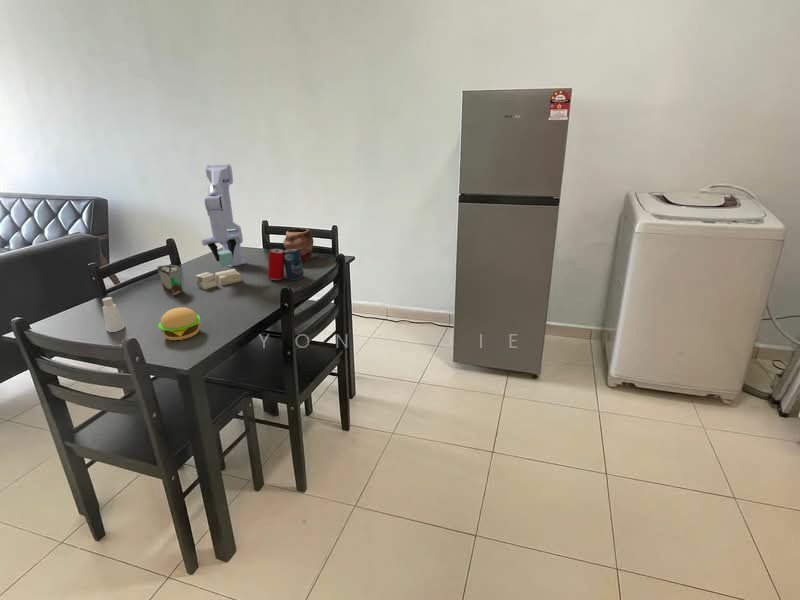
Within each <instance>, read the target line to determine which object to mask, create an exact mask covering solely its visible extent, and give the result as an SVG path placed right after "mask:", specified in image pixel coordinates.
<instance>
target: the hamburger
mask: <svg viewBox="0 0 800 600" xmlns="http://www.w3.org/2000/svg"><path fill="white" fill-rule="evenodd" d="M201 324H202V323H201V317H200V315H199V314H197V313H196V312H195V311H194V310H192V309H191V308H190V307H189V308H188V307H184V306H183V307H176V308H175V307H174V308H172V309H169V310H167V311H166V312H165V313H164V314H162V317H161V318H160V322H159V323H158V328H159V329H160V332H161V333H163V336H164V337H165V338H166V339H167V340H169V341H171V340H174V342H176V341H175V340H181V341H184V340H183V339H186V340H188V339H187V338H189V339H191V338H193V337H195V336H196V335H197V334H198V333H199V331H200V326H201ZM194 335H195V336H194ZM192 336H193V337H192ZM190 337H191V338H190Z"/></svg>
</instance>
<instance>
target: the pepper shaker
mask: <svg viewBox="0 0 800 600" xmlns="http://www.w3.org/2000/svg"><path fill="white" fill-rule="evenodd" d="M101 301H102V304H103V306H102V314H103V319H104V325H105V331H106V332H107V331H109V332H113V331H118V330H121V329H123V328H124V327H125V328H126V325H125V322H124V319H123V318H122V315H121V313H120V311H119V309H118V306H117V303H114V301H113V297H111V296H109V297H108V296H107V297H104V298H102V300H101ZM109 332H108V333H109Z"/></svg>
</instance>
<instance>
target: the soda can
mask: <svg viewBox="0 0 800 600" xmlns="http://www.w3.org/2000/svg"><path fill="white" fill-rule="evenodd" d="M283 252H284V270H285V274H286V277H287V278H288V279H289V280H291V281H295V280H300V279H302V278H303V276H304V269H303V262H301V257H300V252H299V251H298V249H297V248H289V249H286V248H285V249H284V250H283Z"/></svg>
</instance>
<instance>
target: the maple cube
mask: <svg viewBox="0 0 800 600" xmlns="http://www.w3.org/2000/svg"><path fill="white" fill-rule="evenodd" d="M195 279H196V283H197V288H199V289H202V290H208V289H210V288H213V287H216V286H217V283H216V282H217V281H216V276H215V273H214V274H213V273H212V272H209V271H205V272H202V273H200V274H195Z"/></svg>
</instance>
